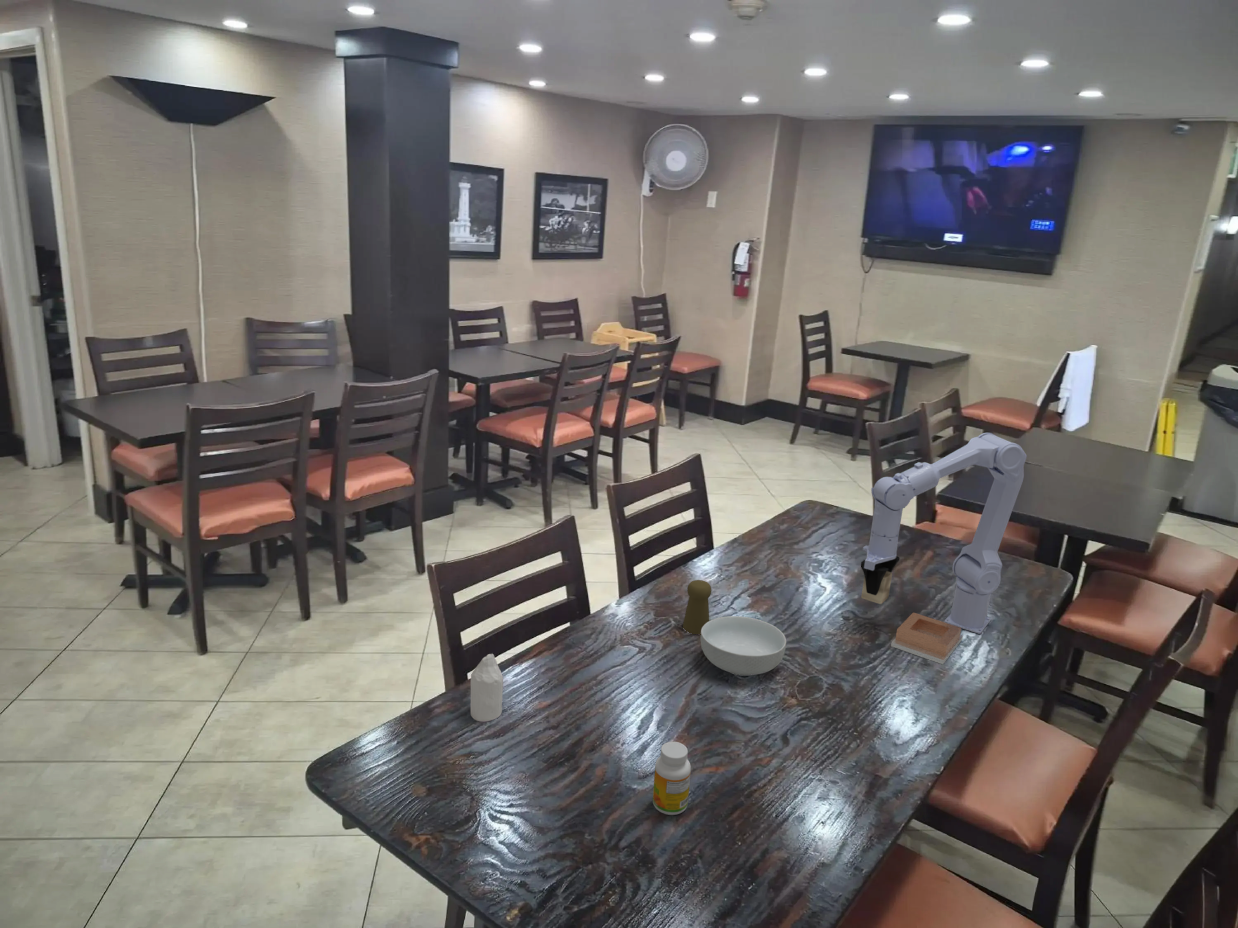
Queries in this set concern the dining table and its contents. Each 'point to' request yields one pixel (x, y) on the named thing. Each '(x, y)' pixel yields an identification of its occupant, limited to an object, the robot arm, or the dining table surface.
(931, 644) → the orange-brown socket block
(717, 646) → the cereal bowl
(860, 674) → the dining table surface
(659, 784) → the supplement bottle
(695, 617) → the olive salt shaker
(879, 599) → the birch block
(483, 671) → the grey pointed cylinder
